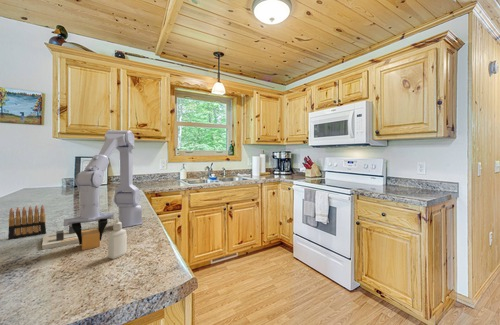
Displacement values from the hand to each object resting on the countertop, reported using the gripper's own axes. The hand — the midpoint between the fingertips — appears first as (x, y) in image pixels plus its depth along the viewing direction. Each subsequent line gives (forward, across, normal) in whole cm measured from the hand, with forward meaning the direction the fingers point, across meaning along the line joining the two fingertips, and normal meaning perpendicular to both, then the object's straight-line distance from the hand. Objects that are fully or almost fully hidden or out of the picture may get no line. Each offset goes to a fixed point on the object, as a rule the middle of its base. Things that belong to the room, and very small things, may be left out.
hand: (90, 241), depth 81 cm
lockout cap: (+1, 0, 0) cm, 1 cm away
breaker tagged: (0, -8, +9) cm, 12 cm away
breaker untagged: (0, -5, +16) cm, 16 cm away
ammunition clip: (+2, -18, +27) cm, 32 cm away
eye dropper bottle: (+2, +6, -15) cm, 16 cm away
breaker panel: (+1, -8, +12) cm, 15 cm away
